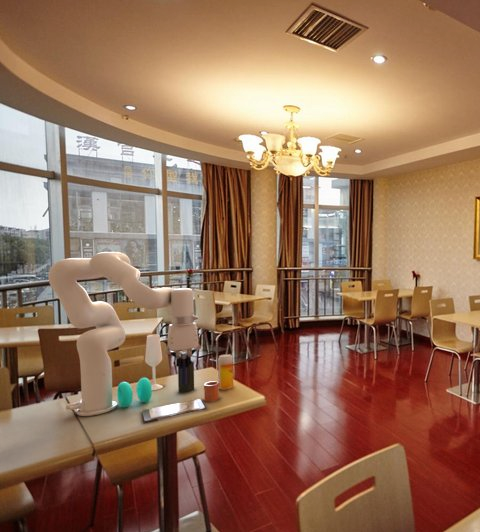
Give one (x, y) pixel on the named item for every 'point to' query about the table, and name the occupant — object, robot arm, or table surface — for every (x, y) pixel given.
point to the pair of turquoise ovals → (126, 394)
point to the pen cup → (211, 391)
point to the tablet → (172, 410)
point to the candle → (190, 378)
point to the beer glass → (225, 371)
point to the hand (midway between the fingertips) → (183, 366)
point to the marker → (183, 368)
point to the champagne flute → (153, 356)
